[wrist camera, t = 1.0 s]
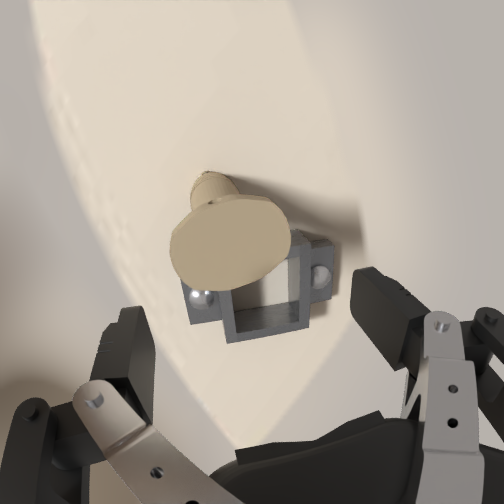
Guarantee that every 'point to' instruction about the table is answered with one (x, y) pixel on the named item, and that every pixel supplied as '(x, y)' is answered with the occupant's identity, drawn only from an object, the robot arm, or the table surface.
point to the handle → (227, 236)
